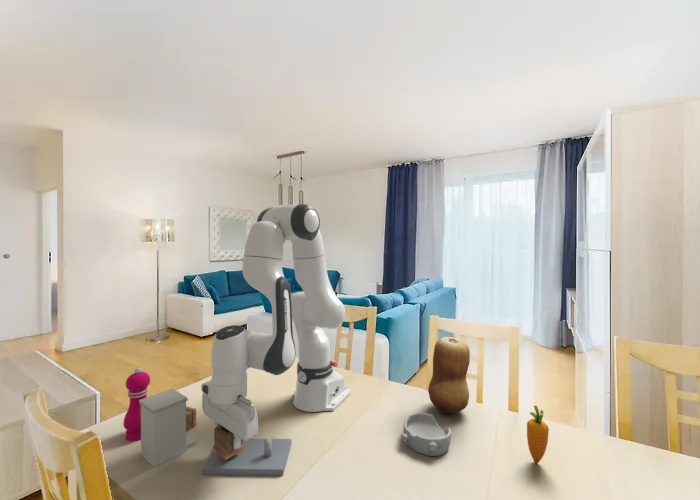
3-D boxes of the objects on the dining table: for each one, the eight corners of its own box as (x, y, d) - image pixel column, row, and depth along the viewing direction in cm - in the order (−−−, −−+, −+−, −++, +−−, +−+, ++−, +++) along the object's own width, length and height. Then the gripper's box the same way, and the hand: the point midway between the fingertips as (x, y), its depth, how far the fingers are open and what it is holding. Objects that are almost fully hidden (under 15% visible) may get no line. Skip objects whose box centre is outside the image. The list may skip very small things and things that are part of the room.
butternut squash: (468, 425, 103) (471, 348, 102) (425, 416, 107) (427, 342, 106) (468, 404, 116) (470, 335, 115) (430, 397, 120) (432, 331, 119)
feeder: (182, 434, 95) (182, 385, 95) (197, 445, 90) (197, 394, 90) (139, 454, 86) (139, 400, 86) (153, 468, 81) (153, 411, 81)
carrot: (546, 472, 83) (549, 415, 82) (524, 464, 85) (527, 409, 85) (547, 461, 87) (549, 406, 86) (526, 454, 89) (528, 401, 89)
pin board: (220, 443, 91) (220, 424, 91) (291, 444, 92) (291, 425, 92) (202, 474, 79) (202, 452, 79) (283, 475, 80) (283, 453, 80)
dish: (419, 422, 104) (419, 407, 104) (459, 442, 94) (460, 426, 94) (391, 441, 94) (391, 425, 94) (433, 466, 84) (434, 448, 84)
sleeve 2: (231, 440, 88) (232, 419, 88) (244, 449, 85) (244, 426, 85) (212, 451, 84) (212, 428, 84) (224, 460, 80) (224, 436, 80)
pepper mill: (138, 444, 90) (138, 374, 90) (117, 440, 92) (116, 371, 91) (158, 429, 98) (158, 364, 97) (138, 425, 99) (138, 361, 98)
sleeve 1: (181, 422, 101) (181, 405, 101) (196, 425, 100) (196, 408, 100) (165, 433, 96) (165, 415, 95) (180, 436, 94) (180, 419, 94)
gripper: (264, 398, 80) (263, 452, 81) (219, 375, 92) (218, 422, 93) (242, 408, 75) (242, 466, 76) (197, 383, 87) (197, 432, 88)
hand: (228, 441), depth 84 cm, fingers closed on sleeve 2, 5 cm apart
